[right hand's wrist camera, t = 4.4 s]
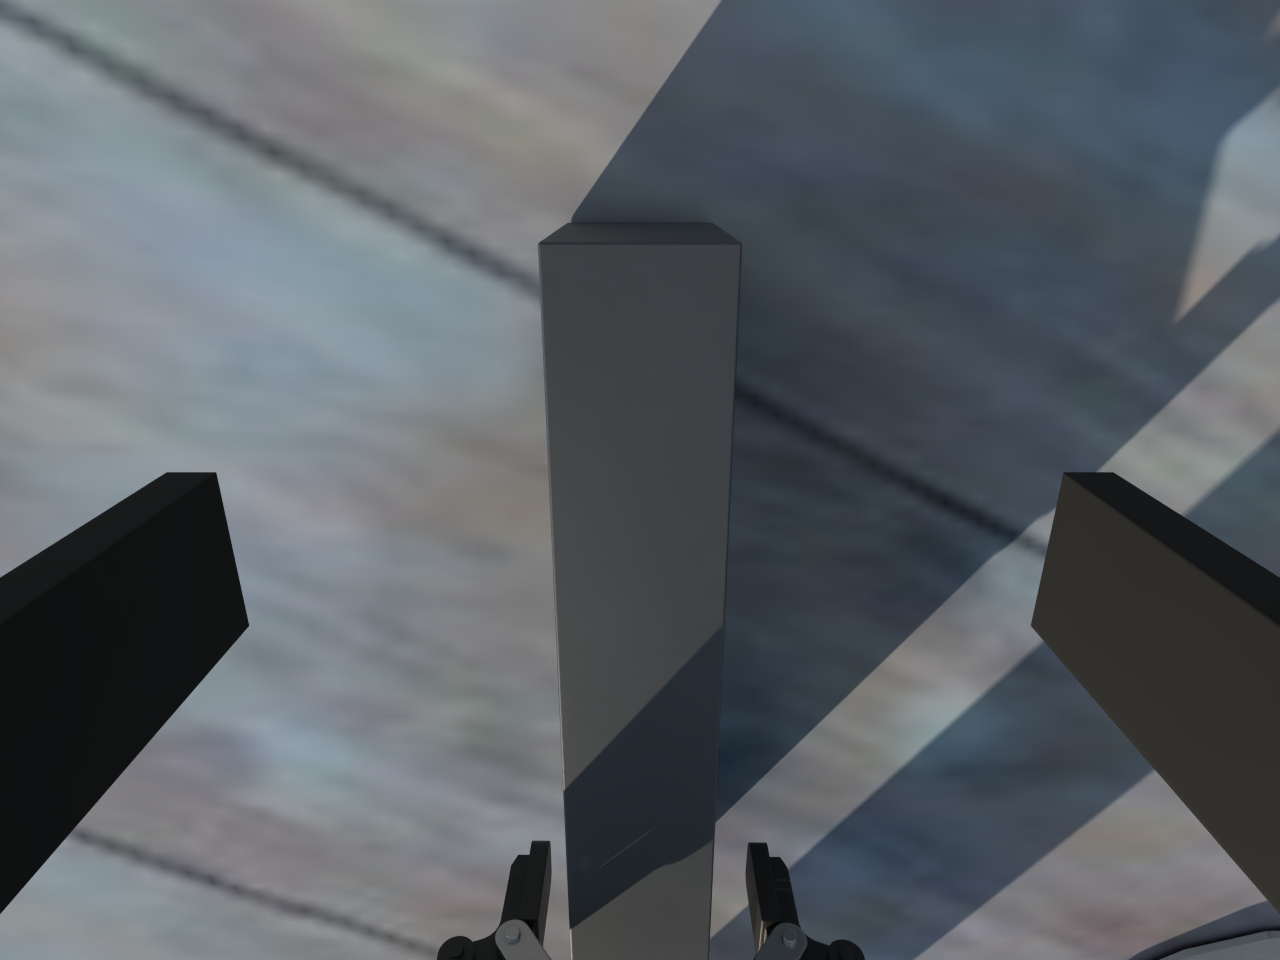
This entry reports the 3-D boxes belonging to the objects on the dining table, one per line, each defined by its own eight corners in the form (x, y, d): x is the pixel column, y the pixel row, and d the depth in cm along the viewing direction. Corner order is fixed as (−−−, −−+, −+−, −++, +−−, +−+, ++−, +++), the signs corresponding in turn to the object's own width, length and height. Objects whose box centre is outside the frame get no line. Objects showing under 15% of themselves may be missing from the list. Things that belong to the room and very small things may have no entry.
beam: (566, 222, 26) (537, 242, 19) (713, 222, 26) (742, 242, 19) (587, 846, 37) (573, 1017, 29) (692, 846, 37) (706, 1017, 29)
